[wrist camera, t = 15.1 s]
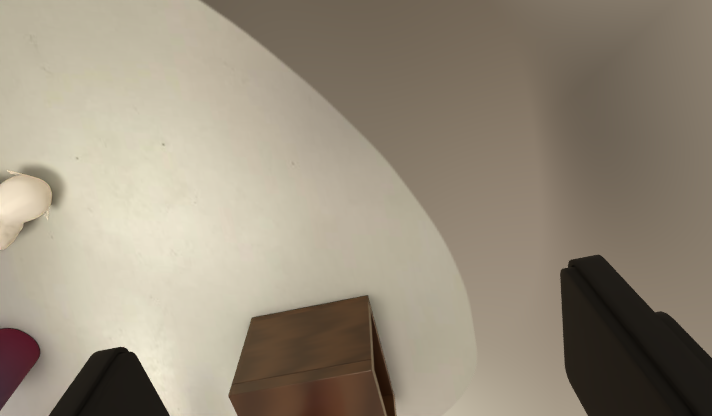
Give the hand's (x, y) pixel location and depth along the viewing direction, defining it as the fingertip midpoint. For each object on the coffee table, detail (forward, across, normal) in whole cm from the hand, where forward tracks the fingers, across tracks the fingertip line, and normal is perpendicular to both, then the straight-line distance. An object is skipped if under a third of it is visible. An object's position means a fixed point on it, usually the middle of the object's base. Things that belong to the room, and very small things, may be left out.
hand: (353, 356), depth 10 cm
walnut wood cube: (+30, +9, +27) cm, 42 cm away
